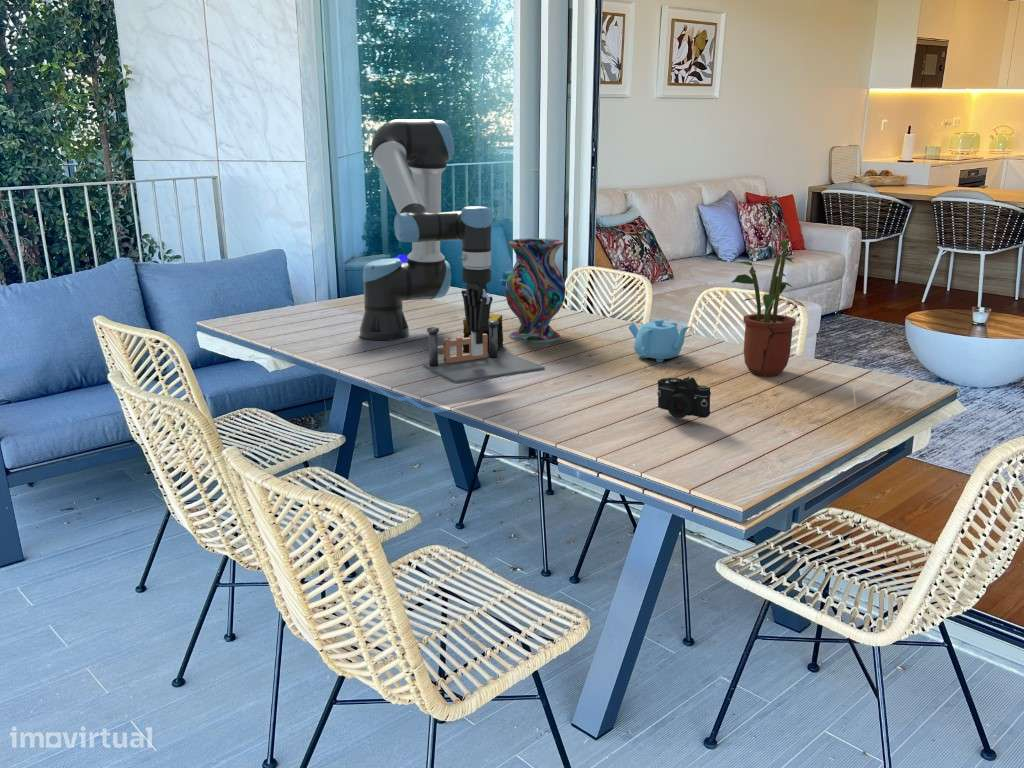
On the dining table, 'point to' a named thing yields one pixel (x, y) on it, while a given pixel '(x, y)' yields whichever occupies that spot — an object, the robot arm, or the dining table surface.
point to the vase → (535, 289)
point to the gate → (458, 343)
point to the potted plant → (767, 324)
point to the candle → (485, 332)
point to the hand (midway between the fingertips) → (477, 354)
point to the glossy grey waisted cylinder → (493, 339)
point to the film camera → (684, 397)
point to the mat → (484, 368)
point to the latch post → (434, 346)
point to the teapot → (658, 340)
